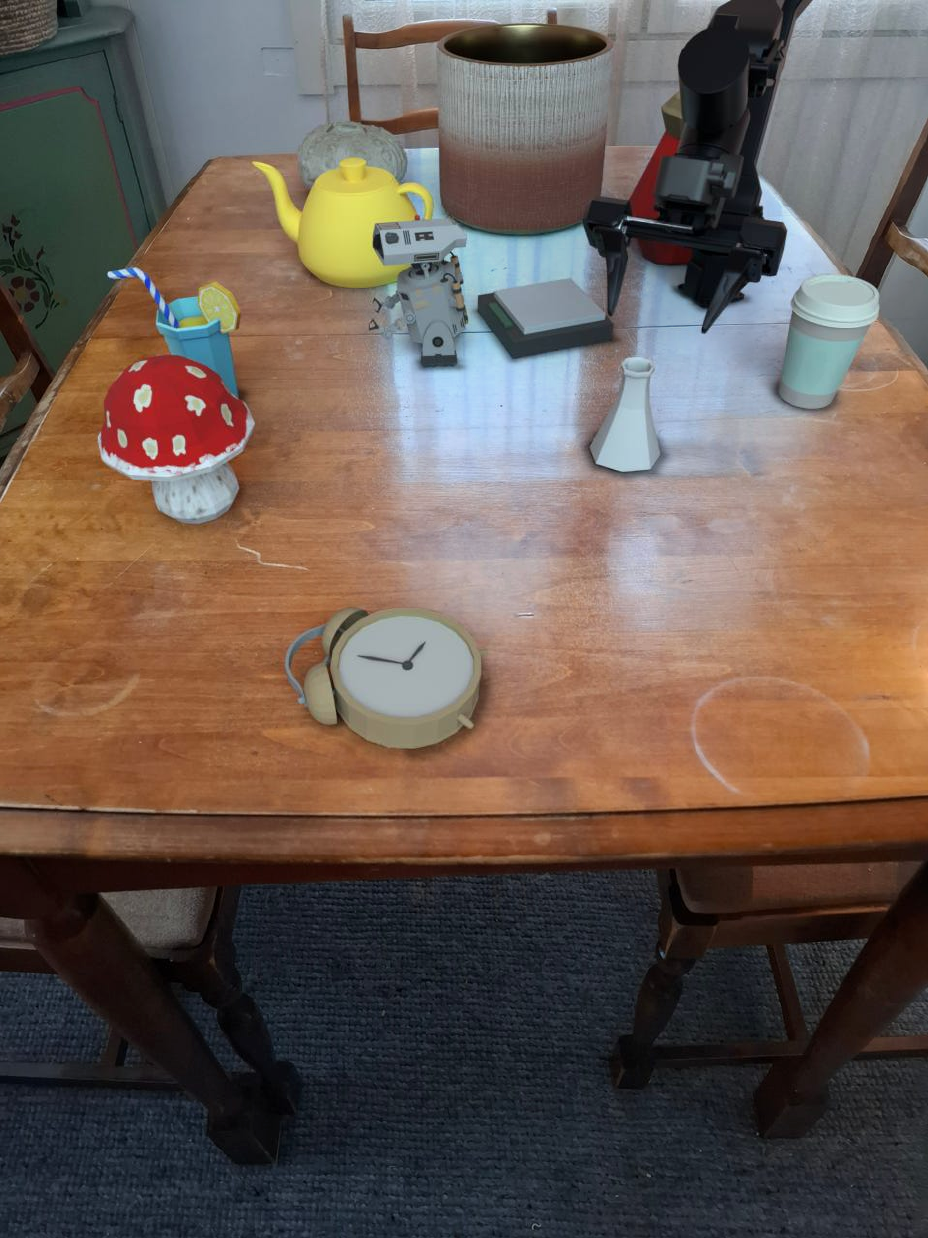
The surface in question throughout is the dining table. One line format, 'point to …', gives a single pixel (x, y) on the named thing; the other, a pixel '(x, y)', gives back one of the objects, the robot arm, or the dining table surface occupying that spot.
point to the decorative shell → (349, 150)
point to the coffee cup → (825, 336)
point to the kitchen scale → (544, 318)
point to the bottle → (645, 187)
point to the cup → (197, 324)
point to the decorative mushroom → (176, 435)
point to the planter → (522, 124)
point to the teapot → (346, 221)
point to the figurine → (425, 284)
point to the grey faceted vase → (629, 422)
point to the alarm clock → (393, 675)
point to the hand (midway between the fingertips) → (655, 323)
